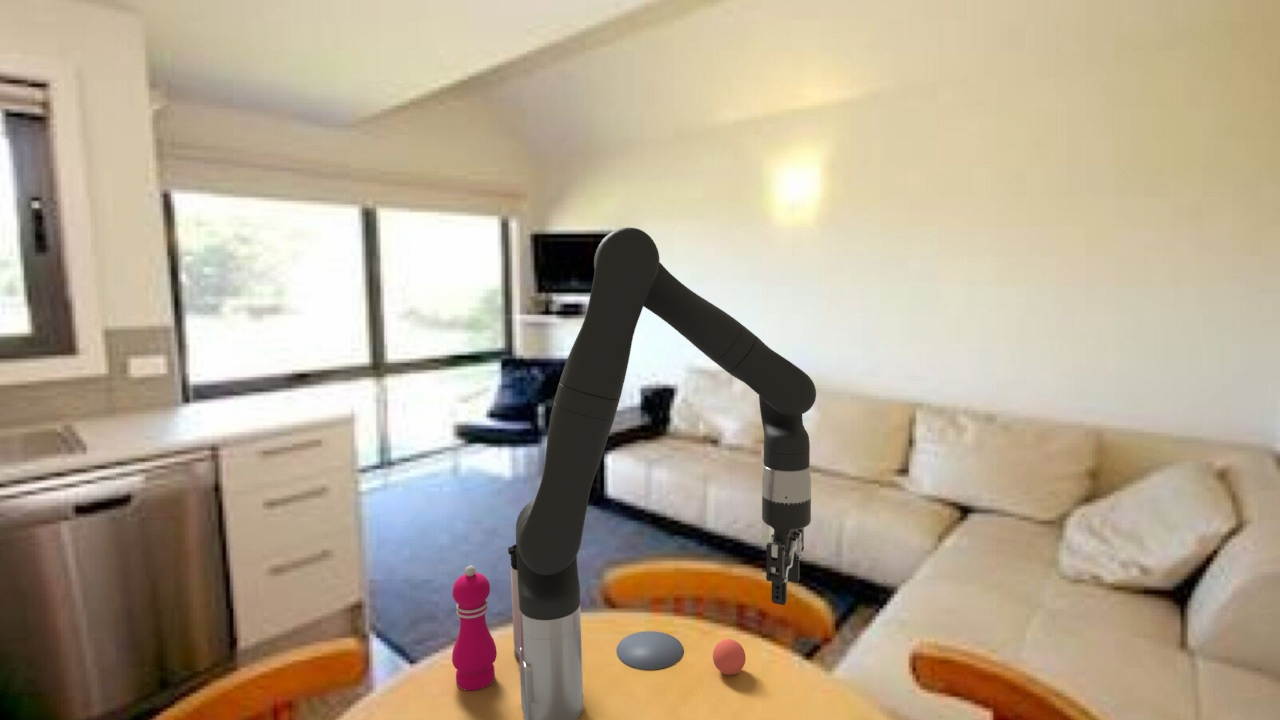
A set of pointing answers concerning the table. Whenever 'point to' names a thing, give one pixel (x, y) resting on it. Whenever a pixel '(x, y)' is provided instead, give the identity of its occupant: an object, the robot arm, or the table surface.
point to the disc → (649, 650)
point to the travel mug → (515, 600)
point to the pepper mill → (473, 632)
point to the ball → (729, 656)
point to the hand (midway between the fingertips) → (785, 591)
